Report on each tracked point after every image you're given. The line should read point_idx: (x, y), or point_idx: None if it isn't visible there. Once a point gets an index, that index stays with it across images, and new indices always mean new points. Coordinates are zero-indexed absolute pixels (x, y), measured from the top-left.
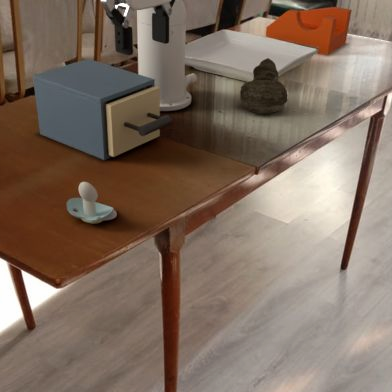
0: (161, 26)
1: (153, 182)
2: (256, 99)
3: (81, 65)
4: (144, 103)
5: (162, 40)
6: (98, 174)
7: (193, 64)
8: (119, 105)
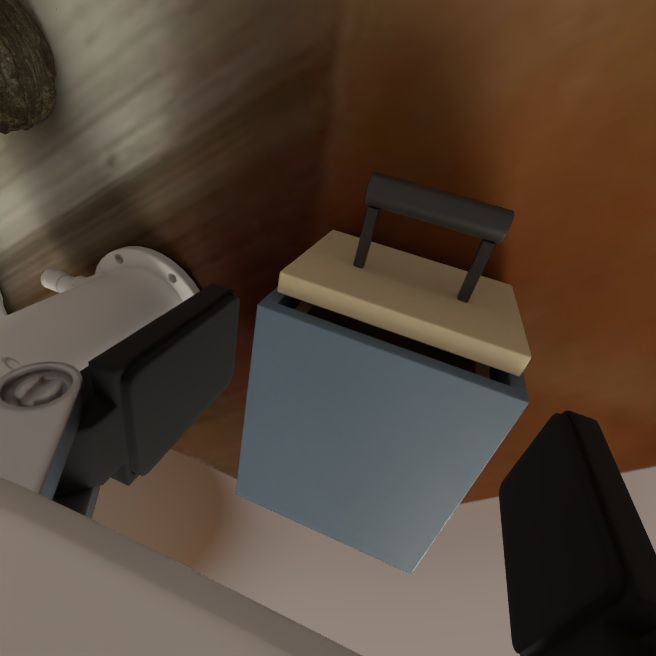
0: (181, 373)
1: (624, 111)
2: (16, 53)
3: (285, 499)
4: (365, 284)
5: (231, 322)
6: (603, 286)
7: (1, 309)
8: (487, 337)
